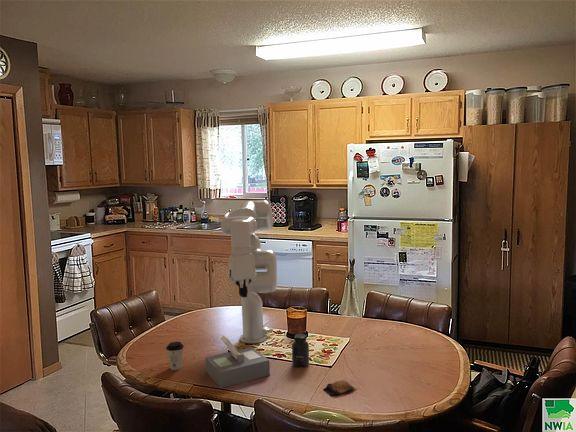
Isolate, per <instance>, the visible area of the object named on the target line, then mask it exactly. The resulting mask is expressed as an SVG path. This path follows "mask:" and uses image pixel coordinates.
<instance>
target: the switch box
mask: <svg viewBox="0 0 576 432" xmlns="http://www.w3.org/2000/svg"><path fill="white" fill-rule="evenodd" d="M234 347H235V346H234ZM235 349H236V350H237V347H235ZM237 351H238V352H239V353H240V354H238V355H237V359H236V358H235V357H234V356H232V354H231V351H230V350H229V351H228V352H225V353H221V354H217V355H216V354H215V355H212V356H207V357H205V369H206V371H205V372H206V374H207V375H208V376H209V377H210V378H211V379H212V380H213V382H215V383H216V384H217V385H218V387H219V388H220V389H222V388H227V387H230V386H234V385H237V384H241V383H245V382H248V381H252V380H256V379H260V378H263V377H268V376H271V371H270V370H271V369H270V368H271V367H270V359H268V358H267V357H266V356H264V355H263V354H262V353H260V352H259V351H258V350H257V349H255V348H254V347H252V346H250V347H246V348H241V349H238V350H237Z"/></svg>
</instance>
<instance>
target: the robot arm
mask: <svg viewBox="0 0 576 432" xmlns="http://www.w3.org/2000/svg"><path fill="white" fill-rule="evenodd" d="M220 223H221V224H220V230H221V232H222V234H223V235H225V236H230V243H231V244H230V246H231V254H229V259H228V272H227V274H228V279H229V284H231V285H236V286H237V287H238V294H239V296H240V298H241V316H242V317H241V318H242V321H241V322H242V334H240V336H239V341H241V342H242V343H244V344H259V343H262V342H264V341H266V340H267V339H268V335H267V334H268V333H273V331H274V328H273V327H269V328H268V327H264V313H263V310H264V309H263V300H262V298H261V297H260V296H259V294H258V293H273V292H275V291H276V289H277V287H278V285H277V284H278V275H277V274H278V272H277V269H278V268H277V266H278V265H277V255H276V253H275V251H274V250H272V249H261V240H260V238H259V236H258V235H256V234H255V232H256V231H269V230H271V229H272V228H273V226H274V218H273V210H272V206H271V204H270V202H269V201H267V200H265V199H264V200H245V201H242V202H241V203H240V205H239V207H238V209H235V210H231V211H229V212H226V213H225V214H224V215H223V217H222V219H221V222H220Z"/></svg>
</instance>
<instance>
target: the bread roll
mask: <svg viewBox="0 0 576 432" xmlns="http://www.w3.org/2000/svg"><path fill="white" fill-rule="evenodd" d="M357 390H358V389H357V388H356V387H354V386H352V385H351V384H350V383H349V382H348V381H347V380H344V379H340V380H337V381H334V382H332V383H327V385H326V387H324V388H322V391H324V393H326V394H327V395H329V396H331V397H334V398H337V397H341V396H344V395H345V396H346V395H347V394H350V393H353V392H355V391H357Z"/></svg>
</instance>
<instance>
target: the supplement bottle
mask: <svg viewBox="0 0 576 432" xmlns="http://www.w3.org/2000/svg"><path fill="white" fill-rule="evenodd" d="M291 343H292V344H291V363H292V366H294V367H295V368H306V367H307V366H309V365H310V345H309V342H308V341H307V335H306V334H304V333H297V334H295V335H294V341H293V342H291Z"/></svg>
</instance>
